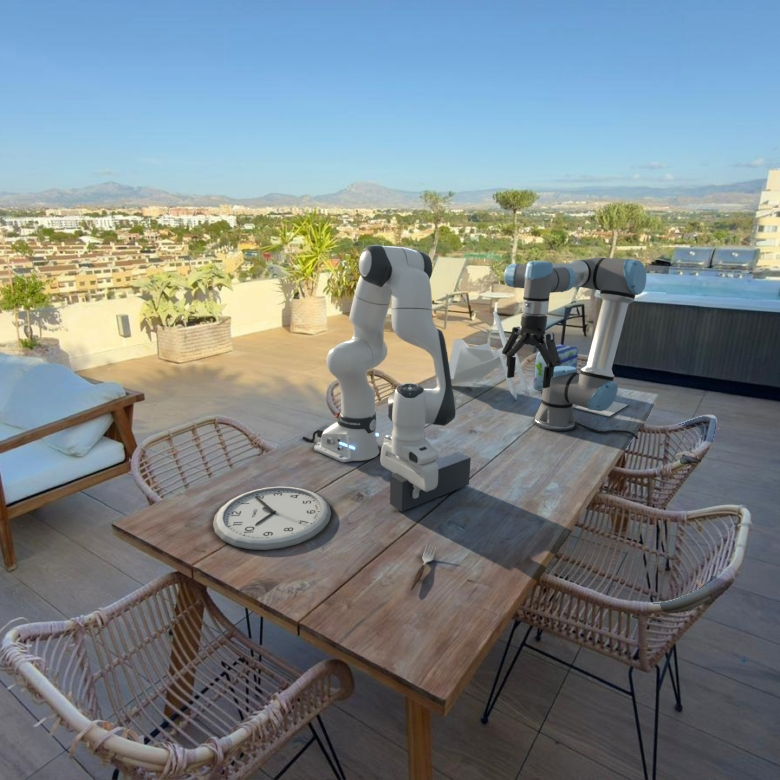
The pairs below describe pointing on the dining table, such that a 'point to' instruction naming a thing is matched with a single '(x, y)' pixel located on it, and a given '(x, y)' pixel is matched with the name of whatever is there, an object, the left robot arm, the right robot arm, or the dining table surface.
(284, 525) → the wall clock
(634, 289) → the right robot arm
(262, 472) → the dining table surface
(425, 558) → the fork
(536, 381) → the lunch box
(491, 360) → the white plastic object
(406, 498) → the bar
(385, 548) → the dining table surface
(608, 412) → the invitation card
